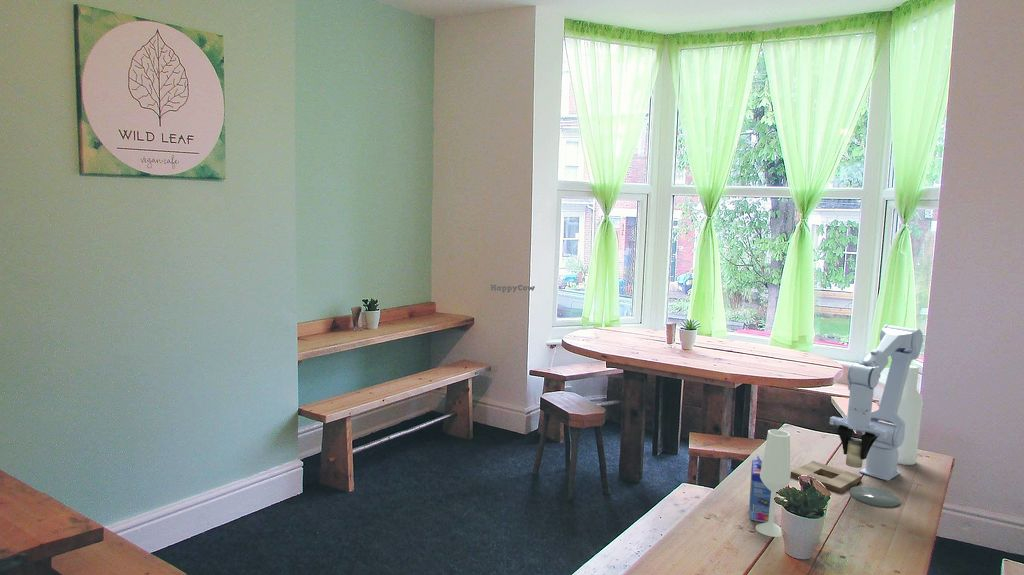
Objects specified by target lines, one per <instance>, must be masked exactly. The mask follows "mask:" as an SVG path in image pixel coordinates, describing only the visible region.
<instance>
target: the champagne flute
mask: <svg viewBox="0 0 1024 575" xmlns="http://www.w3.org/2000/svg"><path fill="white" fill-rule="evenodd" d="M761 461H762V466H761V472H760V478H761V480H762V482H763V484H764V485H765V486H766V487H767V488H768V489H769V490H770V491H771V498H770V509H769V520H768V522H761V523H759V524H756V525H755V530H756V531H757V532H758V533H760V534H762V535H764V536H767V537H774V538H781V537H782V536H781V528H782V527H780V526H779V525H778V524H776V523H775V512H776V502H775V500H774V498H775V497H776V498H777V493H776V492H778V491H779V490H780V489H782V490H784V489H785V488H786V487H788V485H789V484H790V482H791V477H790V475H791V434H790V432H787V431H785V430H782V429H768V430H767V436H766V441H765V447H764V452H763V458H762V460H761ZM783 488H784V489H783ZM780 491H781V490H780ZM780 491H779V492H780ZM779 492H778V493H779Z"/></svg>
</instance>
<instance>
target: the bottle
mask: <svg viewBox="0 0 1024 575" xmlns="http://www.w3.org/2000/svg"><path fill="white" fill-rule="evenodd" d="M919 370H920V369H919V367H918V366H916V365H911V364H910V367H909V370H908V374H907V378H906V382H905V386H904V390H903V393H902V397H901V401H900V405H899V409H898V413H897V415H898V416H899V417H900V418H901V419H902V420H903V421H904V423H905V436H904V440H903V443H902V445H901V446H900V447H898V448H897V449H898V452H899V454H898V463H897V464H899V465H904V466H913V465H915V464H917V459H918V450H919V449H918V448H919V440H920V432H921V431H920V429H921V421H922V413H923V405H924V400H923V396H922V394H921V393H920V392H919V390H918V389H917V388H918V378H919V374H920V371H919ZM890 424H892V423H890ZM892 425H895V426H896V424H892Z"/></svg>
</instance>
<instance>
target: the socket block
mask: <svg viewBox="0 0 1024 575" xmlns="http://www.w3.org/2000/svg"><path fill="white" fill-rule="evenodd" d="M818 474H819V475H818ZM821 474H822V475H821ZM801 475H807V476H811V477H814V478H816V479H817V480H818V481H820V482H821V483H822V484H823V485H824V486H825V487H826V488H827V489H826V488H825V489H826V490H829V489H830V491H833V492H835V491H836V492H835V493H838V494H842V493H843V492H845V491H846V490H848V489H849V488H850V489H851V488H852V487H854V486H855V485H856V484H857V485H858V483H860V482H862V477H863V476H862V475H860V474H857V473H854V472H850V471H847V470H843V469H841V468H838V467H834V466H831V465H828V464H825V463H821V462H819V461H815V460H812V461H810V462H808V463H805V464H804V465H802V466H799V467H798V468H795V469H793V470H790V478H794V479H796V478H797V480H799V479H798V477H799V476H801ZM823 475H824V476H823ZM826 476H827V477H826ZM830 477H831V478H830ZM833 477H834V478H833Z"/></svg>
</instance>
